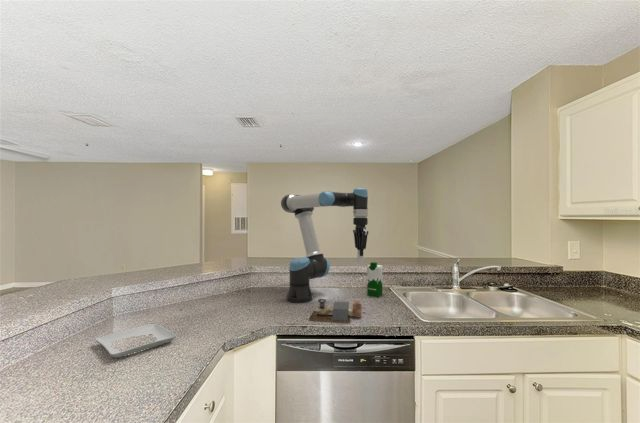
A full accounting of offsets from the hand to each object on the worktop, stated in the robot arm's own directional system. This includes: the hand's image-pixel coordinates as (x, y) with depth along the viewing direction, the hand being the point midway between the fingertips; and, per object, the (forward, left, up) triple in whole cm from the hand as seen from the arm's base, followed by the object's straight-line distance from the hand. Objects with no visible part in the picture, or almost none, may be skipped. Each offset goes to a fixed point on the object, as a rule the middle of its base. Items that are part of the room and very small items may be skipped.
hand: (360, 261), depth 153 cm
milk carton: (-19, +21, -24) cm, 37 cm away
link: (+8, -16, -23) cm, 29 cm away
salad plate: (+7, -100, -25) cm, 104 cm away
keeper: (+8, -20, -24) cm, 32 cm away
